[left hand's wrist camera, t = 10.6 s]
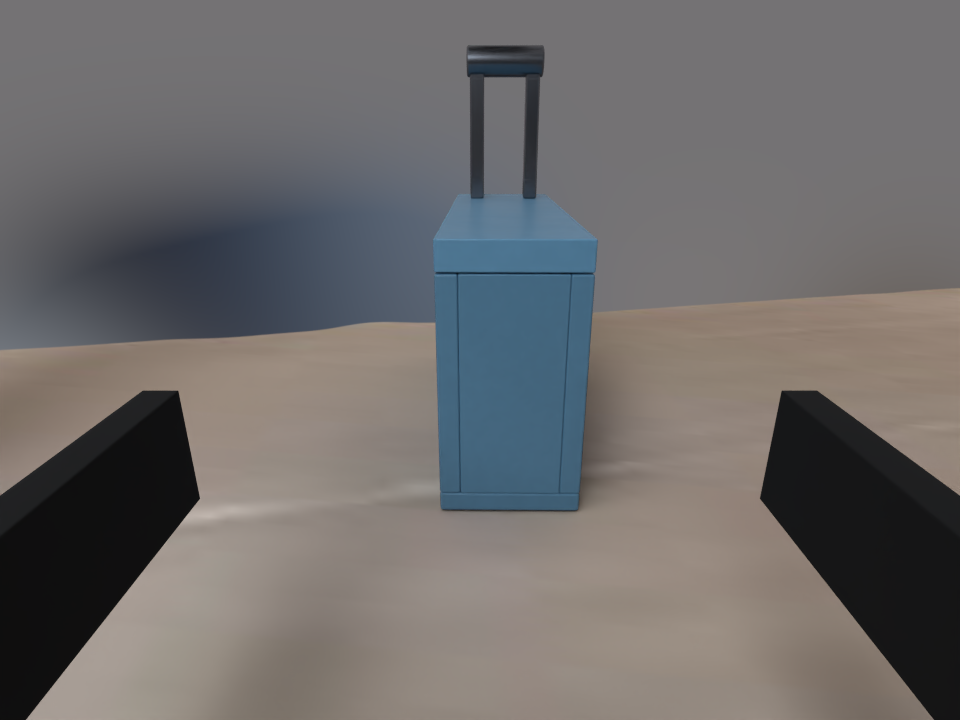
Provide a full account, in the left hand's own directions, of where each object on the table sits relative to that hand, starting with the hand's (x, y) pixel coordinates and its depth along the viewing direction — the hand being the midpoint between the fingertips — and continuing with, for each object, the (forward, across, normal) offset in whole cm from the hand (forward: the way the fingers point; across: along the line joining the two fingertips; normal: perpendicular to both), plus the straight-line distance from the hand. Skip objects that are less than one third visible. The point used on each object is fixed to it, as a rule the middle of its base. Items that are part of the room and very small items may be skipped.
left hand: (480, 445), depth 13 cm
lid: (+15, +1, +2) cm, 15 cm away
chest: (+15, +1, -6) cm, 16 cm away
